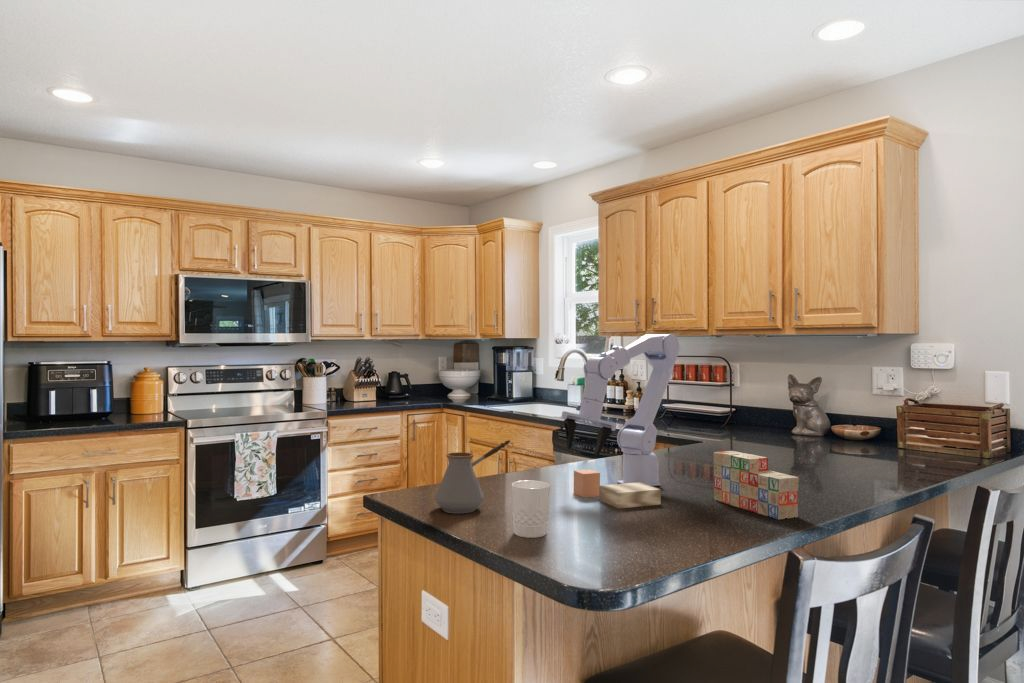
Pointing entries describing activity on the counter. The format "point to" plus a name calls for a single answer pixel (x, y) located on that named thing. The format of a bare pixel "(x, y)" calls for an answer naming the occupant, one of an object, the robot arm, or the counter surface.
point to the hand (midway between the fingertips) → (582, 452)
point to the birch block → (629, 495)
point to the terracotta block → (586, 483)
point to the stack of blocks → (754, 485)
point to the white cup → (530, 508)
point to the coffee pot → (462, 483)
